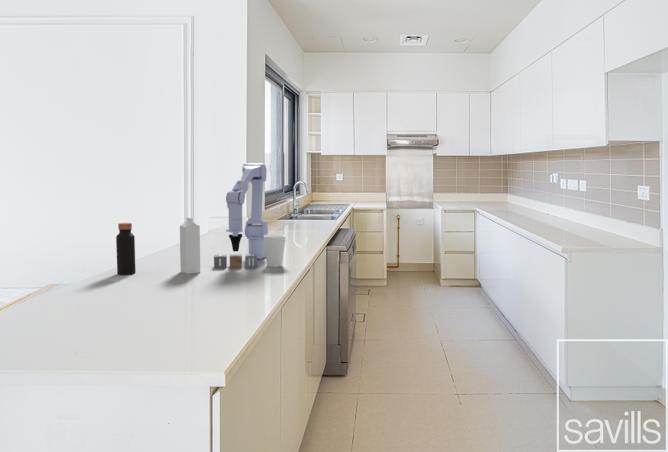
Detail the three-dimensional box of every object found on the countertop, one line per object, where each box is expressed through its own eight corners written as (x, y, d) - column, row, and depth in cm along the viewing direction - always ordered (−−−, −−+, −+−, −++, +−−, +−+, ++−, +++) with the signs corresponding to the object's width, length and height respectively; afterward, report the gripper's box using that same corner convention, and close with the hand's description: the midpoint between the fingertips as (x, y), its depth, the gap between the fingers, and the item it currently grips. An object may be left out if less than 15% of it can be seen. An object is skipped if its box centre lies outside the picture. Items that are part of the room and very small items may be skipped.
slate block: (245, 265, 244) (245, 254, 244) (257, 265, 245) (257, 253, 244) (245, 267, 239) (245, 256, 239) (257, 267, 240) (257, 255, 239)
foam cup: (287, 264, 248) (287, 234, 247) (283, 267, 239) (283, 237, 238) (266, 263, 249) (265, 234, 248) (261, 267, 240) (261, 237, 239)
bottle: (129, 275, 219) (128, 224, 217) (113, 274, 221) (112, 224, 219) (138, 272, 226) (137, 222, 224) (123, 271, 227) (122, 222, 225)
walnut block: (230, 266, 243) (230, 254, 243) (241, 265, 244) (241, 254, 243) (229, 268, 238) (229, 256, 238) (241, 267, 239) (241, 256, 238)
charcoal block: (214, 266, 242) (214, 254, 242) (226, 266, 243) (226, 254, 242) (214, 268, 237) (213, 256, 237) (226, 268, 238) (226, 256, 237)
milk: (186, 274, 223) (185, 218, 221) (180, 272, 228) (179, 217, 226) (200, 272, 227) (199, 218, 225) (194, 270, 232) (193, 216, 229)
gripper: (226, 217, 245) (226, 248, 247) (225, 221, 231) (225, 253, 233) (242, 217, 247) (243, 248, 248) (242, 220, 232) (242, 253, 234)
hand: (235, 251), depth 240 cm, fingers closed
